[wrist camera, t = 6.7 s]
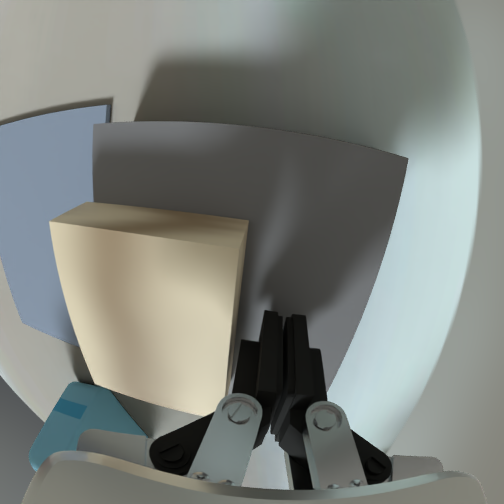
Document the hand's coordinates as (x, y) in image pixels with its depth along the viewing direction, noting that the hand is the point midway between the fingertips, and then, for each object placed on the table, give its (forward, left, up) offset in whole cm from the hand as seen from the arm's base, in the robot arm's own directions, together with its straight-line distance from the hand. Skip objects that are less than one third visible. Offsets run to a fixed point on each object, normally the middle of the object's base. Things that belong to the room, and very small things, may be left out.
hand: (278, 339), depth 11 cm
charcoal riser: (+2, 0, -4) cm, 5 cm away
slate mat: (+16, 0, -4) cm, 17 cm away
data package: (+14, +20, -5) cm, 25 cm away
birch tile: (+5, 0, 0) cm, 5 cm away
